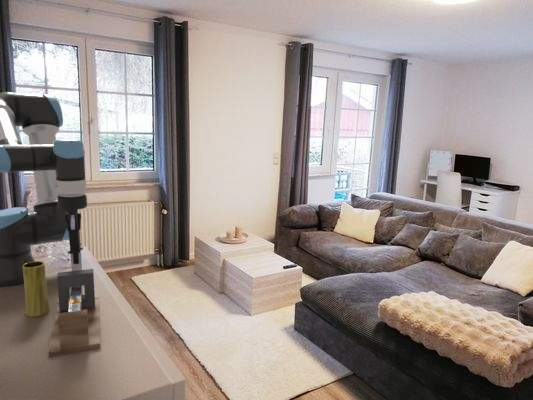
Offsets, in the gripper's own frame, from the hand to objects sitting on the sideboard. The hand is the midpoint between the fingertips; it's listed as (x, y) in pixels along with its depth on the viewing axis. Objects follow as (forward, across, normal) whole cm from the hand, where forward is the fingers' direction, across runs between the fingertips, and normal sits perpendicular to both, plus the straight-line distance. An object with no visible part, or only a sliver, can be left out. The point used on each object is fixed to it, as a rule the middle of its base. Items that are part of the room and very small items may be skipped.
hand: (77, 272), depth 117 cm
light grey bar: (+4, +14, 0) cm, 15 cm away
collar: (+7, +7, 0) cm, 10 cm away
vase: (+10, +3, -10) cm, 14 cm away
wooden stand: (+9, +14, 0) cm, 17 cm away
